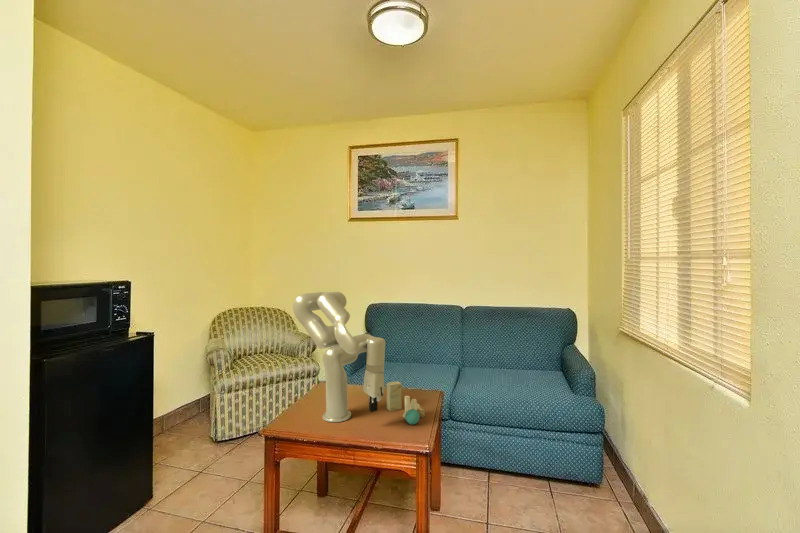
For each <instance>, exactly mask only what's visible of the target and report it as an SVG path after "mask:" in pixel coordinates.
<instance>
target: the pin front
mask: <svg viewBox="0 0 800 533" xmlns="http://www.w3.org/2000/svg"><path fill="white" fill-rule="evenodd" d="M419 408H421V405H420V404H419V403H418V402H417V410H418V409H419ZM410 409H411V408H410ZM410 409H409V410H410ZM406 413H407V412H405V411H404V413H403V414H402V418H403V419H404V420H406V418H405V415H406Z"/></svg>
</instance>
